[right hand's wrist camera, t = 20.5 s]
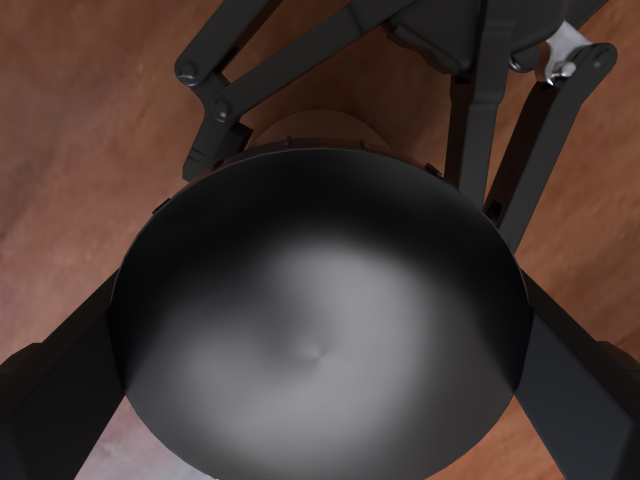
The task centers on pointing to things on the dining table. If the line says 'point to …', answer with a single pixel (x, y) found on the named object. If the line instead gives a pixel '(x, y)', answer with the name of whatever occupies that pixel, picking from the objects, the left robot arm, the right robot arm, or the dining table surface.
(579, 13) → the smartphone
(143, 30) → the dining table surface
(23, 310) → the dining table surface
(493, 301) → the lid
